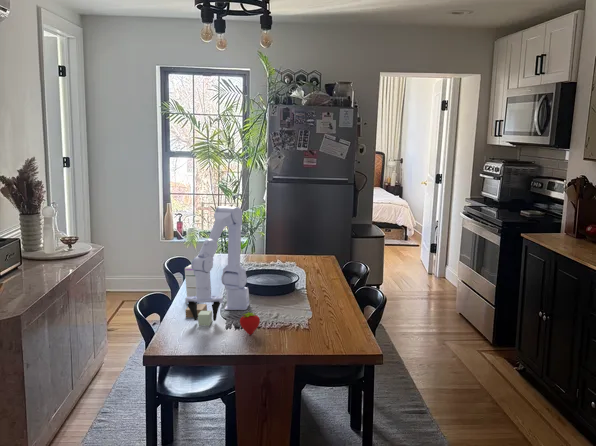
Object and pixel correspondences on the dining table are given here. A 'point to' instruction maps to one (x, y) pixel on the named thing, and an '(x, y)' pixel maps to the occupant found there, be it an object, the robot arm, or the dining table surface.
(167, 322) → the dining table surface
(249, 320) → the strawberry
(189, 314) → the block
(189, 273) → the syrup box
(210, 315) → the green cube
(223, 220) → the robot arm
